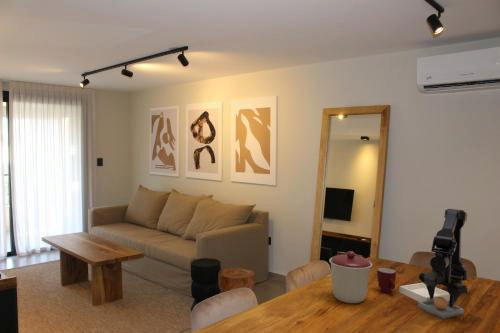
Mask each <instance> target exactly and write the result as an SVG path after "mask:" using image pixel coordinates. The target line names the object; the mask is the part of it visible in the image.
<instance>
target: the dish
mask: <svg viewBox="0 0 500 333" xmlns="http://www.w3.org/2000/svg"><path fill="white" fill-rule="evenodd" d="M398 292H399V294H401V295H404V296H406V297H408V298H410V299H412V300H414V301H417V302H422V301H427V300H433V299H435V298H437V297H443V298H445V299H446V300H447V302H449V301H450V294H449V293H448V292H449V291H446V290H445V289H444V290H443V289H441V288H439V287H437V286H435V292H434V297H433V299H430V296H429V293H428V289H427V287H426V285H425V284H424V283H423V282H420V283H419V282H418V283H412V284H406V285H399V291H398Z"/></svg>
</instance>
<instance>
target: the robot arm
mask: <svg viewBox="0 0 500 333" xmlns="http://www.w3.org/2000/svg"><path fill="white" fill-rule="evenodd" d="M443 217H444V218H445V219H444V222H443V224H442V228H441V229H439V230H438V231H437V232H436V234H435V236H434V237H433V241H432V246H431V250H430V252H432V253H434V256H433V257H431V259H430V262H429V263H430V264H429V265H430V267H431V271H424V272H420V274H419V275H418V279H419V280H420V281H421V283H424V284H425V285H426V287H427V289H428V293H429V296H430V299H433V297H434V292H435V287H437V285H438V286H441V285H442V286H444V287H443V289H444V290H445V291H446V290H447V292H448V293H449V294H450V301H448V303H449V305H450V308H451V307H453V305H455V304H456V302H457V300H458V298H459V297H461V295H463V294H467V293H468V287H467V285H465V284H463V282H465V281H467V280H468V273H467V269H466V267H465V261H464V260H463V259H462V257H461V256H462V255H461V254H462V252H461V250H462V249H461V248H462V245H461V244H462V228H463V227H464V225H465V223H466V222H467V220H468V214H467V212H466V211H465V210H463V209H456V208H447V209H445V211H444V216H443Z"/></svg>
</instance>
